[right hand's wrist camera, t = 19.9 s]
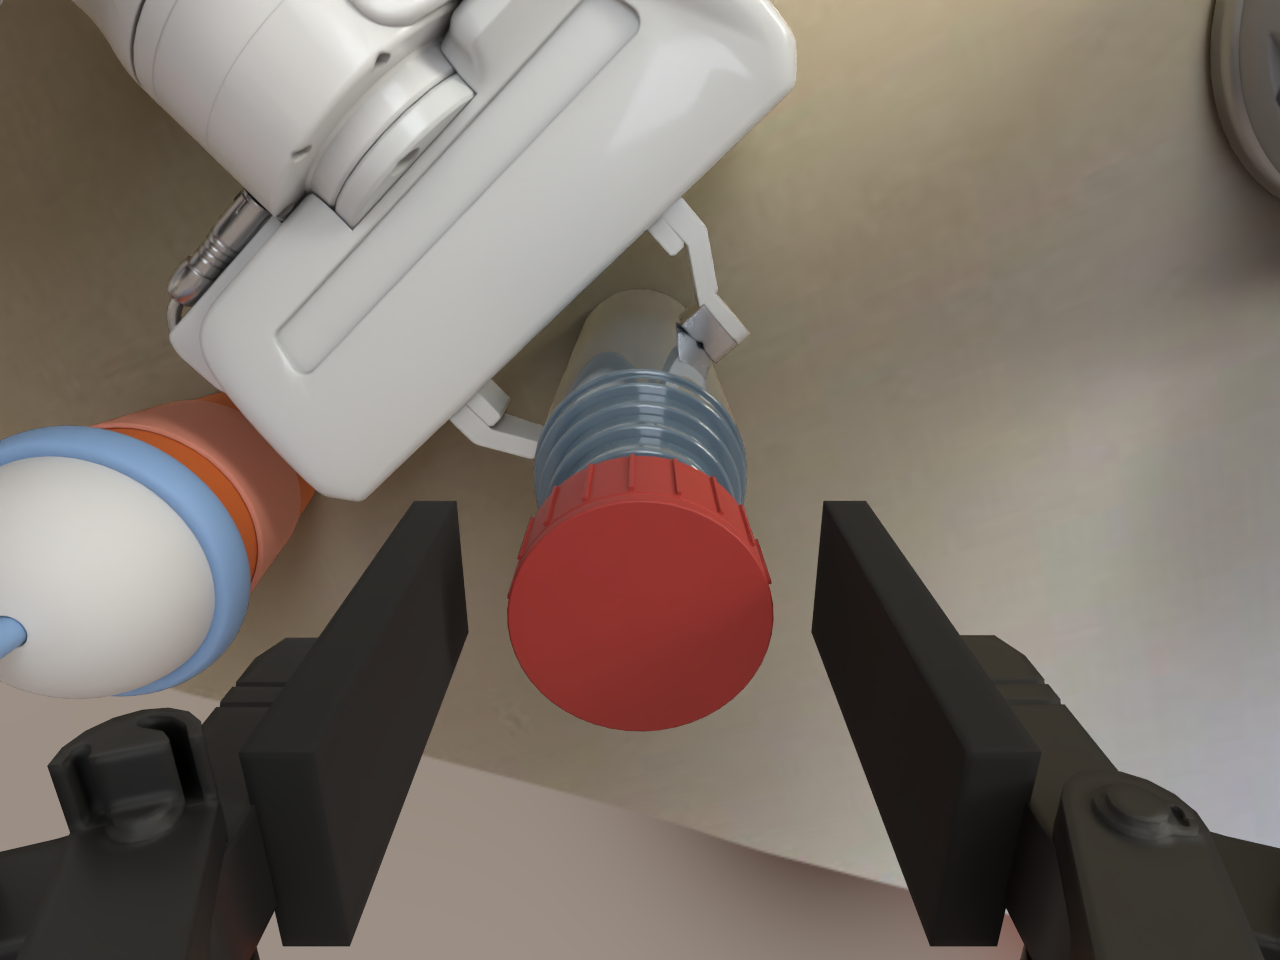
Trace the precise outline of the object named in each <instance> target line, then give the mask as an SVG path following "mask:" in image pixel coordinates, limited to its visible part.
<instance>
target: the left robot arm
mask: <svg viewBox="0 0 1280 960" xmlns="http://www.w3.org/2000/svg"><path fill="white" fill-rule="evenodd" d="M3 1H4V0H0V5H1V4H2V2H3ZM71 1H72V2H74V3H75V4H76V5H77V6H78V7H79V8H81V9H82V10H83V11H84V12H85V13H86V14H87V15H88V16H89V17H90V18H91V19H92V21H93V22H94V23H95V24H96V25H97V27H98V28H99V29H100V31H101V32H102V33H103V35H104V36H105V38H106V39H107V41H108V43H109V44H110V46H111V48H112V49H113V51H114V53H115V54H116V56H117V58H118V59H119V61H120V62H121V64H122V65H123V67H124V68H125V69H126V71H127V72H128V73H129V74H130V76H131V77H132V78H133V79H134V80H135V81H136V83H137V84H138V85H139V86H140V87H141V88H142V89H143V90H144V91H145V92H146V93H148V95H149V96H150V97H151V98H152V99H153V100H154V101H156V102H157V103H158V104H159V105H160V106H161V107H162V108H163V109H164V110H165V111H166V112H167V113H168V114H169V115H170V116H171V117H172V118H173V119H174V120H175V121H176V122H177V123H178V124H179V125H180V126H181V127H182V128H183V129H184V130H185V131H187V132H188V133H189V134H190V135H191V136H192V137H193V138H194V139H195V140H196V141H197V142H198V143H199V144H200V145H201V146H202V147H203V148H204V149H205V150H206V151H207V152H208V153H209V154H210V155H211V156H212V157H213V158H214V159H215V160H216V161H217V162H218V163H219V164H220V165H221V166H222V167H223V168H224V169H225V170H226V171H227V172H228V173H229V174H230V175H232V176H233V177H234V178H235V179H236V180H237V181H238V182H239V183H240V184H241V185H242V186H243V187H244V189H243V190H242V191H241V192H240V193H239V194H238V195H237V196H236V197H235V199H234V201H233V202H232V203H231V204H230V205H229V207H228V208H227V209H226V210H225V211H224V212H223V214H222V215H221V216H220V217H219V218H218V220H217V221H216V223H215V224H214V225H213V227H212V229H211V230H210V232H209V234H208V235H207V237H206V238H205V240H204V242H203V243H202V244H201V245H200V246H199V248H198V249H197V250H196V251H195V252H194V254H193V255H192V256H188V257H187V258H185V259H184V260H183V261H182V262H181V263H180V264H179V265H178V266H177V268H176V269H175V270H174V272H173V273H172V275H171V276H170V278H169V280H168V283H167V285H166V291H167V293H168V294H169V296H170V297H171V298H170V301H169V304H168V308H167V326H168V330H169V333H170V336H169V339H170V343H171V344H172V346H173V348H174V349H175V351H176V352H177V353H178V354H179V356H180V357H181V358H182V359H183V360H184V361H185V362H187V363H188V364H189V365H190V366H191V367H192V368H193V369H194V370H196V371H197V372H198V373H199V374H200V375H201V376H202V377H204V378H205V379H206V380H207V381H208V382H209V383H210V384H212V385H213V386H214V387H215V388H217V389H218V390H220V391H222V392H224V393H226V394H227V396H228V397H229V398H230V399H231V401H232V402H233V403H234V404H235V405H236V407H237V408H238V409H239V410H240V411H241V413H242V414H243V415H244V416H245V417H246V419H247V420H248V421H249V422H250V423H251V424H252V425H253V427H254V428H255V429H256V430H257V431H258V432H259V433H260V435H261V436H262V437H263V438H264V439H265V440H266V441H267V442H268V443H269V444H270V445H271V446H272V448H273V449H274V450H275V451H276V452H277V453H278V454H279V455H280V456H281V457H282V458H283V459H284V460H285V461H286V462H287V463H288V464H289V465H290V466H291V467H292V468H293V469H294V470H295V471H296V472H297V473H298V474H299V475H300V476H301V477H302V478H303V479H304V480H305V481H306V482H307V483H308V484H309V485H310V486H312V487H313V488H314V489H315V490H316V491H318V492H319V493H321V494H322V495H324V496H326V497H331V498H337V499H342V500H349V501H357V502H358V501H363V500H365V499H366V498H367V497H368V496H369V495H370V494H371V493H372V492H374V491H375V490H376V489H377V488H378V487H379V486H380V485H381V484H382V483H383V482H384V481H385V480H386V479H387V478H388V477H389V476H390V475H391V474H392V473H393V472H394V471H395V470H396V469H398V468H399V467H400V466H401V465H402V464H403V463H404V462H405V461H406V460H407V459H408V458H409V457H410V456H411V455H412V454H413V453H414V452H415V451H416V450H417V449H418V448H419V447H421V446H422V445H423V444H424V443H425V442H426V441H427V440H428V439H429V438H430V437H431V436H432V435H433V434H434V433H435V432H436V431H437V430H438V429H439V428H440V427H441V426H442V425H443V424H445V423H446V422H447V421H448V420H450V421H451V422H452V423H453V424H454V425H455V426H456V427H457V428H458V429H459V430H460V431H461V432H462V433H463V434H464V435H465V436H466V437H467V438H468V439H469V440H470V441H472V442H473V443H474V444H475V445H479V446H483V447H487V448H490V449H494V450H498V451H502V452H505V453H509V454H513V455H516V456H520V457H524V458H528V459H531V460H532V459H533V458H534V457H535V452H536V447H537V443H538V440H539V437H540V434H541V432H542V429H543V425H540V424H537V423H534V422H531V421H528V420H525V419H522V418H519V417H516V416H512V415H509V414H506V413H504V412H505V410H506V408H507V407H508V405H509V403H510V397H509V396H508V395H507V394H506V393H505V392H504V391H503V390H502V389H501V388H500V387H499V386H498V385H497V384H496V383H495V382H494V381H493V380H492V379H491V378H493V377H494V376H495V375H496V374H497V373H498V372H499V371H500V370H501V369H502V368H503V367H504V366H505V365H506V364H507V363H508V362H509V361H510V360H511V359H512V358H513V357H514V356H515V355H517V354H518V353H519V352H520V351H521V350H522V349H523V348H524V347H525V346H526V345H527V344H528V343H529V342H530V341H531V340H532V339H533V338H534V337H535V336H536V335H537V334H538V333H539V332H541V331H542V330H543V329H544V328H545V327H546V326H547V325H548V324H549V323H550V322H551V321H552V320H553V319H554V318H555V317H556V316H557V315H558V314H559V313H560V312H561V311H562V310H563V309H565V308H566V307H567V306H568V305H569V304H570V303H571V302H572V301H573V300H574V299H575V298H576V297H577V296H578V295H579V294H580V293H581V292H582V291H583V290H584V289H585V288H586V287H588V286H589V285H590V284H591V283H592V282H593V281H594V280H595V279H596V278H597V277H598V276H599V275H600V274H601V273H602V272H603V271H604V270H605V269H606V268H607V267H608V266H609V265H610V264H612V263H613V262H614V261H615V260H616V259H617V258H618V257H619V256H620V255H621V254H622V253H623V252H624V251H625V250H626V249H627V248H628V247H629V246H630V245H631V244H632V243H633V242H634V241H636V240H637V239H638V238H639V237H640V236H641V235H642V234H643V233H644V232H645V231H646V230H647V231H648V232H649V233H650V234H651V235H652V236H653V237H654V239H655V240H656V241H657V242H658V243H659V244H660V245H661V246H662V248H663V249H664V250H665V251H666V252H667V253H668V254H669V255H670V256H675V255H676V254H677V253H678V252H679V251H680V250H681V249H683V247H684V244H685V249H686V254H687V259H688V265H689V270H690V275H691V280H692V285H693V290H694V295H695V299H696V301H695V302H694V303H692V304H691V305H690V306H689V307H688V308H687V309H686V310H685V311H684V312H683V313H682V314H681V315H680V316H679V320H680V321H681V322H680V324H681V326H682V327H683V328H684V329H685V331H686V332H687V333H688V334H689V335H690V336H691V337H692V338H693V339H694V340H695V341H697V342H701V344H702V347H703V349H704V351H705V352H706V353H707V355H708V356H709V357H710V359H711V360H712V361H713V362H715V363H717V362H718V361H720V360H721V359H722V358H723V357H724V356H726V355H727V354H728V353H729V352H730V351H731V350H733V349H734V348H735V347H736V346H737V345H738V344H739V343H741V342H742V341H743V340H744V339H745V338H746V337H747V336H749V335H750V333H749V332H748V330H747V329H746V327H745V326H744V325H743V324H742V322H741V321H740V320H739V319H738V317H737V316H736V315H735V314H734V313H733V312H732V311H731V309H730V308H729V307H728V306H727V305H726V304H725V302H724V301H723V300H722V299H721V298H720V297H719V295H718V294H717V292H718V286H717V281H716V275H715V270H714V264H713V259H712V253H711V248H710V242H709V237H708V231H707V227H706V226H705V225H704V223H703V222H702V221H701V220H700V219H699V217H698V216H697V215H696V214H695V213H694V211H693V210H692V209H691V208H690V207H689V205H688V204H687V203H686V202H685V201H684V199H683V198H682V197H681V196H682V195H684V194H685V193H686V192H687V191H688V190H689V189H690V188H691V187H692V186H693V185H694V184H695V183H696V182H697V181H698V180H699V179H700V178H701V177H702V176H703V175H704V174H705V173H706V172H708V171H709V170H710V169H711V168H712V167H713V166H714V165H715V164H716V163H717V162H718V161H719V160H720V159H721V158H722V157H723V156H724V155H725V154H726V153H727V152H728V151H729V150H731V149H732V148H733V147H734V146H735V145H736V144H737V143H738V142H739V141H740V140H741V139H742V138H743V137H744V136H745V135H746V134H747V133H748V132H749V131H750V130H751V129H752V128H753V127H755V126H756V125H757V124H758V123H759V122H760V121H761V120H762V119H763V118H764V117H765V116H766V115H767V114H768V113H769V112H770V111H771V110H772V109H773V108H774V107H775V106H776V105H777V104H778V103H779V102H781V101H782V100H783V99H784V98H785V97H786V96H787V95H788V94H789V93H790V92H791V91H792V90H793V88H794V86H795V83H796V74H797V47H796V41H795V37H794V35H793V33H792V31H791V29H790V28H789V26H788V25H787V23H786V22H785V20H784V19H783V18H782V16H781V15H780V14H779V12H778V11H777V10H776V8H775V7H774V6H773V5H772V3H771V2H770V1H769V0H71ZM183 306H189V307H192V306H193V307H192V308H191V309H190V310H189V312H188V313H187V314H186V315H185V316H184V317H183V318H182V320H181V313H182V308H183Z"/></svg>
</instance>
